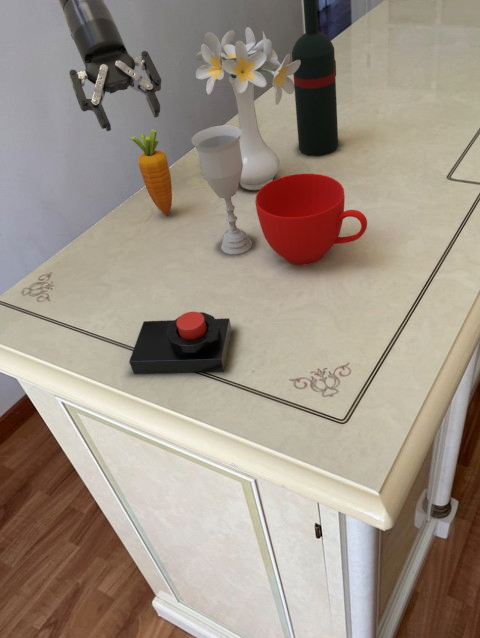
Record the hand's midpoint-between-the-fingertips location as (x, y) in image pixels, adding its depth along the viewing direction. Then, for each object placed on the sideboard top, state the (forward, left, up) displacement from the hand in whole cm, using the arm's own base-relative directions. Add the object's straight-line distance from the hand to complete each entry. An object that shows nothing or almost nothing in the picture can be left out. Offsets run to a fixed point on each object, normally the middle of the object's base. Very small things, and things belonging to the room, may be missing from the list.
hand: (133, 121), depth 99 cm
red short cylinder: (+16, -42, -11) cm, 46 cm away
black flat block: (+14, -42, -14) cm, 46 cm away
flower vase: (+20, +4, -15) cm, 25 cm away
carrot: (+4, -6, -15) cm, 16 cm away
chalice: (+18, -17, -15) cm, 28 cm away
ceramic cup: (+31, -21, -15) cm, 40 cm away
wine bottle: (+31, +18, -15) cm, 38 cm away
